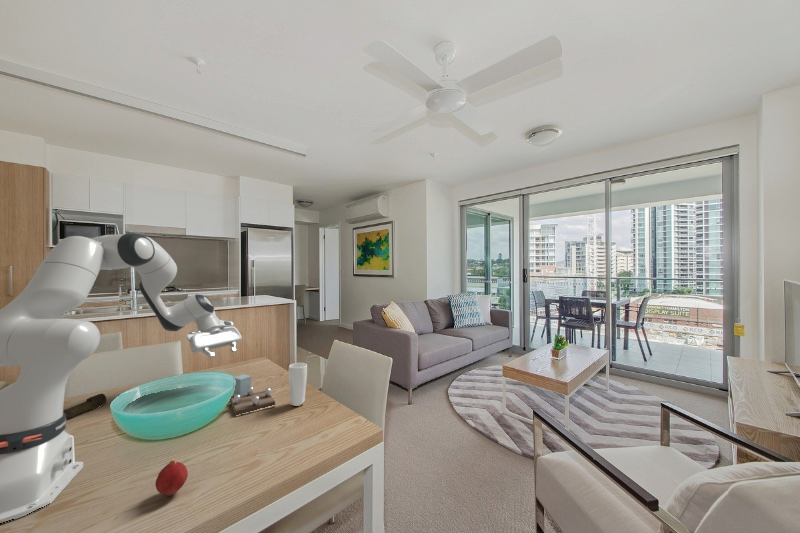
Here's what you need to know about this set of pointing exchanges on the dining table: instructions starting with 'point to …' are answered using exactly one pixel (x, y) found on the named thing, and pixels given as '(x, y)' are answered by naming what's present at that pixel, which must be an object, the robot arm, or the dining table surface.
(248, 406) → the peg board
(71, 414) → the rusty brown artillery shell
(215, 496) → the dining table surface
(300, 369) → the drinking glass
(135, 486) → the dining table surface
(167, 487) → the onion
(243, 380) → the block
